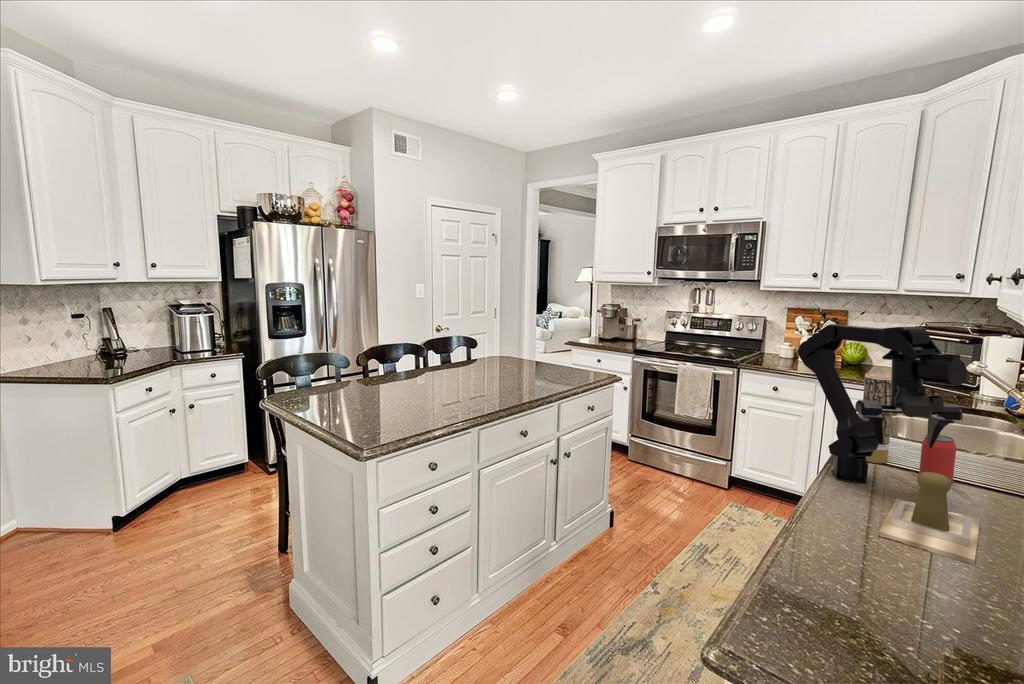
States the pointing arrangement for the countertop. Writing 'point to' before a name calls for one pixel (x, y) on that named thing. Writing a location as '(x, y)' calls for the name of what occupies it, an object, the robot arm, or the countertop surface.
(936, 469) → the beer can
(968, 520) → the clear rectangular frame
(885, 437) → the brown tall cylinder
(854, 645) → the countertop surface
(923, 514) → the cork
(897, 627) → the countertop surface
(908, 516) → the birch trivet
